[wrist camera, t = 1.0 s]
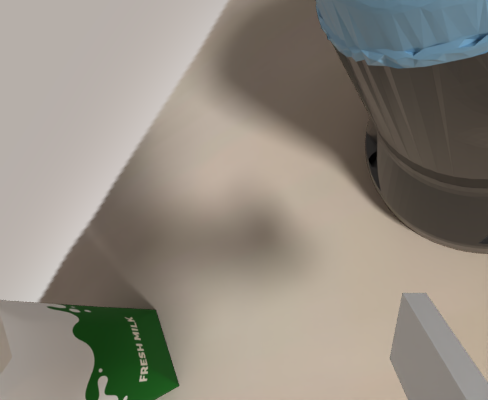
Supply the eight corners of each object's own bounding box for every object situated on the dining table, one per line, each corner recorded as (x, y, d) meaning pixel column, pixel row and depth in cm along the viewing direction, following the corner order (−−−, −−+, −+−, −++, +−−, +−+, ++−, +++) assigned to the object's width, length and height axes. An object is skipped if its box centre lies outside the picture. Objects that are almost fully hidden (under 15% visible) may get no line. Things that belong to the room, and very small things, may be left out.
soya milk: (191, 392, 34) (-91, 451, 17) (113, 435, 36) (-202, 526, 19) (160, 295, 38) (-92, 265, 21) (92, 340, 40) (-183, 345, 23)
